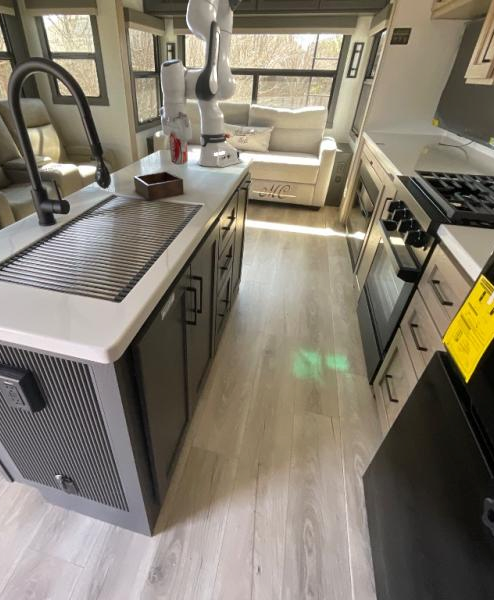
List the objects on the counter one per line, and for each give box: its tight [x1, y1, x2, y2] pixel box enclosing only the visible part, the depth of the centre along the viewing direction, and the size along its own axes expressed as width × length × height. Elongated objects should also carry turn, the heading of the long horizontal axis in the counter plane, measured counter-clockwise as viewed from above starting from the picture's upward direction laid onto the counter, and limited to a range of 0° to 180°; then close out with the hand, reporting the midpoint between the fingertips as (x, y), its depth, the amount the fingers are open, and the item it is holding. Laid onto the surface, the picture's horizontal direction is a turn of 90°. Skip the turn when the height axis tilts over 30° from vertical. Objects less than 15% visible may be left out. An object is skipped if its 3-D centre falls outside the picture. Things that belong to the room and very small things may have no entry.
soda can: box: [168, 132, 189, 166], centre depth 135 cm, size 7×7×12 cm
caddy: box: [133, 170, 185, 201], centre depth 130 cm, size 15×15×6 cm
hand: (178, 149), depth 136 cm, fingers closed on soda can, 7 cm apart
